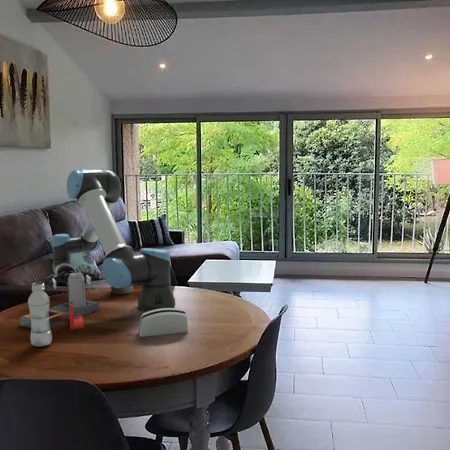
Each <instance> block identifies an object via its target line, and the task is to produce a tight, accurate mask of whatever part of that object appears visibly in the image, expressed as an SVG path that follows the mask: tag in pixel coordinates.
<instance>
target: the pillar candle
mask: <svg viewBox="0 0 450 450" xmlns="http://www.w3.org/2000/svg"><path fill="white" fill-rule="evenodd" d="M110 287H111V288H110V291H111V294H114V295H127V293H128V294H130V293H133V292H134V285H133V286H128V287H126V288H114V287H112V286H110ZM132 291H133V292H132Z"/></svg>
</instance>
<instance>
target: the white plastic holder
mask: <svg viewBox="0 0 450 450" xmlns="http://www.w3.org/2000/svg"><path fill="white" fill-rule="evenodd" d="M187 331H188V332H189V325H188V315H187V312H186V311H185V310H184V309H182V308H177V307H176V308H175V307H173V308H162V309H156V310H152V311H146V312H143V313H142V314H141V318H140V323H139V326H138V333H139V335H138V336H139V337H140V338H143V337H151V336H163V335H172V334H181V333H180V332H182V333H188V332H187Z"/></svg>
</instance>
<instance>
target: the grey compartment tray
mask: <svg viewBox="0 0 450 450" xmlns="http://www.w3.org/2000/svg"><path fill="white" fill-rule="evenodd" d="M85 304H86V305H85V306H82V307H79V308H74V307H73V317H78V316H82V317H83V316H86V315H89V314H92V313H95V312H97V311H100V302H99V301H93V300H88V299H85ZM19 317H20V318H19V319H20V320H19V321H20V327H25V328H29V329H31V314H30V313H29V314H25V315H22V316H19ZM67 322H70V315H69V301H68V302H64V303H61V304H59V305H55V306H52V307H49V324H50V328H52V327H56V326H58V325H61V324H64V323H67Z"/></svg>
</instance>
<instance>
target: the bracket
mask: <svg viewBox="0 0 450 450" xmlns="http://www.w3.org/2000/svg"><path fill="white" fill-rule="evenodd" d="M69 315H70V321H69V327H70V330H73V329H74V330H75V329H76V330H77V329H84V328H85V326H84V325H85V324H84V317H83V316H78V317H73V307H72V305H69Z"/></svg>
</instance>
